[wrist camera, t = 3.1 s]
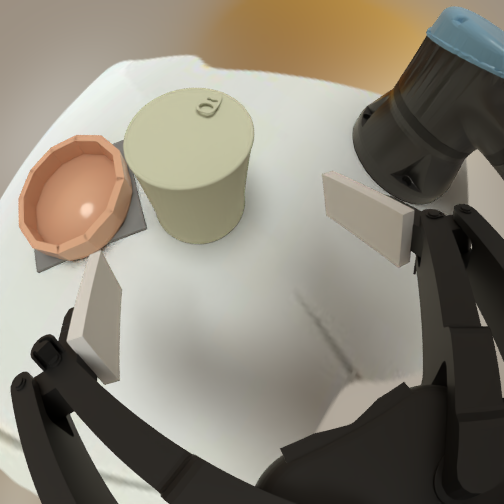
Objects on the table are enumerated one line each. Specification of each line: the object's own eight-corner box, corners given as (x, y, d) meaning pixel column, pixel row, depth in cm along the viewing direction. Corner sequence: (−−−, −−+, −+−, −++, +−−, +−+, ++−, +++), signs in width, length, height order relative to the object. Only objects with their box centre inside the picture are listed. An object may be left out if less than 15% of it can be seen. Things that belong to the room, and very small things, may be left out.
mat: (126, 140, 30) (126, 138, 30) (146, 228, 28) (145, 227, 27) (32, 184, 28) (31, 182, 28) (39, 272, 25) (37, 272, 25)
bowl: (122, 136, 30) (114, 118, 27) (144, 234, 27) (134, 222, 24) (33, 177, 28) (19, 165, 25) (40, 276, 25) (22, 270, 22)
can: (260, 185, 30) (278, 108, 19) (217, 260, 28) (210, 212, 16) (186, 151, 31) (171, 71, 19) (139, 219, 28) (94, 155, 17)
